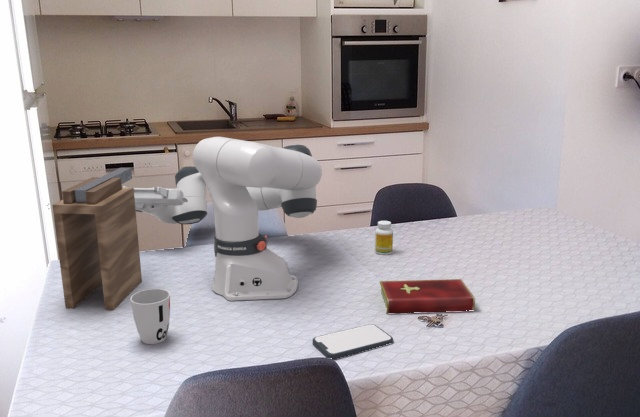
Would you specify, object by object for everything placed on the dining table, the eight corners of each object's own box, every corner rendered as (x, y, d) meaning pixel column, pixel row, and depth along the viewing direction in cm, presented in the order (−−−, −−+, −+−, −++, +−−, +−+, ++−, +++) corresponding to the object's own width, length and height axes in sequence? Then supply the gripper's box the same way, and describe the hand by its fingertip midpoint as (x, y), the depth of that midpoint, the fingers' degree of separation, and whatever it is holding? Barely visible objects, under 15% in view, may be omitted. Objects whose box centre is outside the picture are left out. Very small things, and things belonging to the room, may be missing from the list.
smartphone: (372, 329, 135) (310, 344, 127) (373, 322, 134) (310, 337, 127) (395, 345, 127) (330, 363, 120) (395, 339, 127) (330, 355, 119)
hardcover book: (474, 313, 141) (475, 297, 140) (386, 316, 140) (387, 299, 139) (460, 293, 153) (461, 278, 152) (379, 295, 152) (379, 280, 151)
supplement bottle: (372, 250, 184) (373, 220, 181) (389, 248, 185) (389, 219, 182) (377, 256, 179) (378, 225, 176) (394, 254, 180) (395, 224, 177)
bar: (132, 178, 163) (131, 167, 162) (87, 202, 138) (86, 190, 137) (121, 178, 163) (120, 167, 163) (75, 202, 138) (73, 190, 138)
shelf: (141, 281, 160) (132, 176, 152) (113, 310, 143) (100, 193, 135) (99, 279, 161) (87, 175, 154) (65, 308, 144) (50, 192, 136)
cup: (162, 349, 124) (159, 305, 122) (127, 345, 126) (123, 302, 123) (179, 331, 132) (176, 290, 129) (145, 328, 134) (141, 287, 131)
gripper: (188, 211, 185) (174, 200, 171) (125, 210, 187) (106, 198, 173) (190, 192, 186) (176, 179, 173) (127, 191, 188) (108, 178, 175)
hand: (140, 189), depth 173 cm, fingers open, 8 cm apart
